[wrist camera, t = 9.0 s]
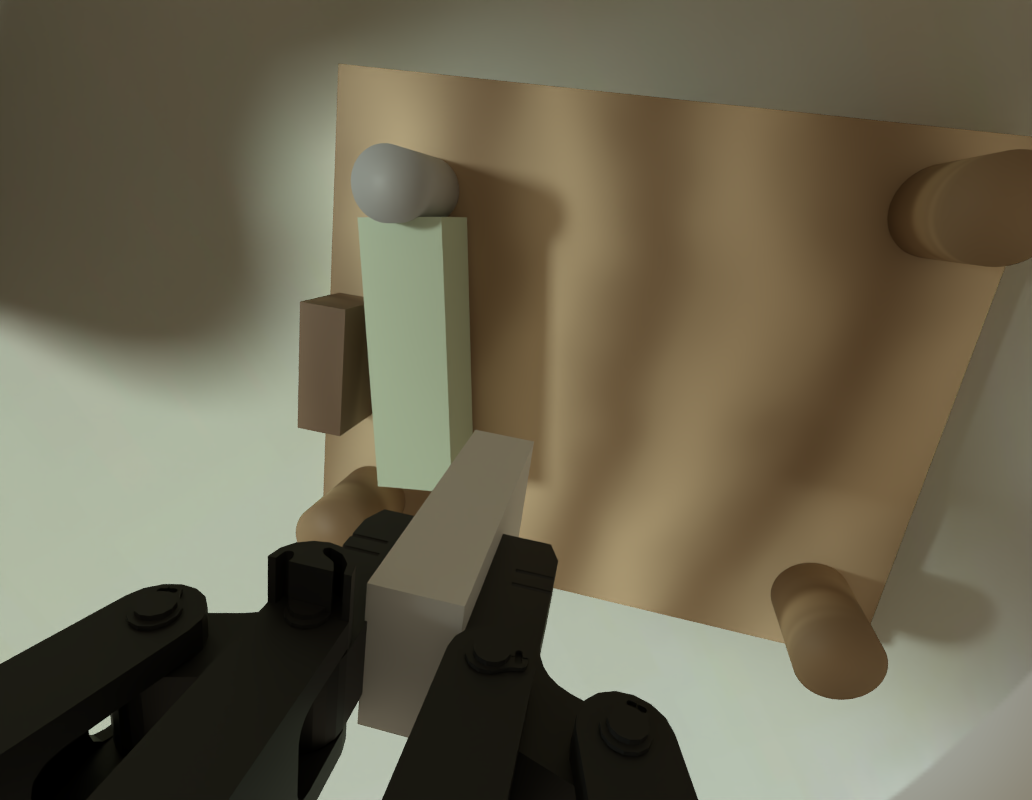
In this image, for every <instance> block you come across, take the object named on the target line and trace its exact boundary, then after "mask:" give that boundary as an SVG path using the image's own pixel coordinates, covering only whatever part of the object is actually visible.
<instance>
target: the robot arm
mask: <svg viewBox="0 0 1032 800" xmlns="http://www.w3.org/2000/svg"><path fill="white" fill-rule="evenodd" d="M533 445H534V441H529V440H524V439H519V438H514V437H509V436H504V435H499V434H494V433H489V432H484V431H479V430H475V431H474V433H473V434H472V435H471V437H470V438H469V440H468V441H467V442H466V444H465V445H464V447H463V448H462V449H461V451H460V452H459V454H458V455H457V457H456V458H455V459H454V461H453V462H452V464H451V465H450V466H449V468H448V469H447V471H446V472H445V474H444V475H443V476H442V478H441V479H440V481H439V482H438V483H437V485H436V486H435V488H434V489H433V491H432V492H431V493H430V495H429V496H428V498H427V499H426V500H425V502H424V503H423V505H422V506H421V508H420V509H419V510H418V512H417V513H416V515H415V516H413V515H408V514H404V513H399V512H395V511H390V510H386V509H384V510H382V511H380V512H378V513H376V514H374V515H372V516H370V517H368V518H366V519H365V520H364V521H363V522H362V523H361V524H360V525H359V526H358V528H357V529H356V530H355V531H354V532H353V535H352V536H350V537H349V538H348V539H347V540H346V542H345V543H344V544H343V547H341V546H339V545H336V544H333V543H331V542H322V541H306V542H296V543H293V544H290V545H287V546H284V547H281V548H279V549H278V550H276V551H275V552H273V553H272V554H270V555H269V556H268V602H267V604H266V605H265V606H264V607H263V608H262V609H261V610H260V611H259V612H253V613H208V607H207V602H206V597H205V596H204V595H203V594H202V593H201V592H200V591H198V590H197V589H196V588H192V587H189V586H185V585H182V584H162V585H157V586H152V587H147V588H143V589H141V590H138V591H136V592H133V593H131V594H128V595H126V596H124V597H122V598H120V599H119V600H117V601H115V602H113V603H111V604H109V605H108V606H106V607H104V608H102V609H100V610H98V611H97V612H95V613H93V614H91V615H89V616H87V617H86V618H84V619H82V620H80V621H78V622H76V623H75V624H73V625H71V626H69V627H67V628H65V629H64V630H62V631H60V632H58V633H56V634H54V635H53V636H51V637H49V638H47V639H45V640H43V641H42V642H40V643H38V644H36V645H34V646H32V647H31V648H29V649H27V650H25V651H23V652H21V653H20V654H18V655H16V656H14V657H12V658H10V659H9V660H7V661H5V662H3V663H1V664H0V800H317V799H318V797H319V795H320V793H321V791H322V789H323V787H324V785H325V784H326V782H327V780H328V778H329V776H330V774H331V772H332V770H333V768H334V767H335V765H336V763H337V761H338V759H339V757H340V755H341V753H342V750H343V746H344V743H345V739H346V722H347V720H348V719H349V717H350V715H351V713H352V711H353V710H354V708H355V706H356V704H357V702H358V701H359V710H358V724H360V725H364V726H368V727H371V728H375V729H379V730H382V731H386V732H390V733H393V734H397V735H401V736H404V737H408V740H407V742H406V744H405V747H404V749H403V752H402V754H401V756H400V759H399V761H398V763H397V766H396V768H395V770H394V773H393V775H392V777H391V780H390V782H389V784H388V787H387V789H386V791H385V794H384V796H383V798H382V800H698V798H697V795H696V792H695V790H694V787H693V784H692V781H691V778H690V775H689V773H688V770H687V767H686V764H685V761H684V758H683V756H682V753H681V750H680V747H679V744H678V741H677V739H676V736H675V733H674V732H673V730H672V728H671V726H670V725H669V723H668V721H667V719H666V718H665V717H664V716H663V715H662V714H661V713H660V712H659V711H658V710H657V709H656V708H654V707H653V706H652V705H651V704H649V703H648V702H646V701H644V700H642V699H640V698H638V697H636V696H634V695H631V694H626V693H621V692H617V691H612V692H602V693H597V694H595V695H594V696H592V697H590V698H588V699H586V700H585V701H583V700H581V699H579V698H577V697H575V696H574V695H572V694H570V693H569V692H567V691H566V690H564V689H563V688H561V687H560V686H558V685H557V684H556V683H555V681H554V680H553V679H552V678H551V677H550V676H549V675H548V673H547V672H546V670H545V668H544V667H543V664H542V661H541V657H540V653H541V648H542V643H543V638H544V633H545V629H546V624H547V618H548V613H549V608H550V603H551V597H552V592H553V587H554V581H555V576H556V571H557V565H558V559H557V557H556V554H555V552H554V550H553V548H552V545H551V544H547V543H543V542H538V541H533V540H529V539H524V538H520V537H519V532H520V526H521V520H522V513H523V507H524V501H525V495H526V488H527V482H528V476H529V470H530V464H531V457H532V451H533ZM109 715H111V725H110V726H109V727H107V728H106V729H104V730H102V731H100V732H98V733H96V734H94V735H89V731H88V730H90V729H91V728H92V727H94V726H95V725H97V724H98V723H99V722H101V721H102V720H104V719H105V718H106V717H108V716H109Z"/></svg>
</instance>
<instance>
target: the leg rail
mask: <svg viewBox="0 0 1032 800" xmlns="http://www.w3.org/2000/svg"><path fill="white" fill-rule="evenodd" d="M351 189H352V193H353V196H354V199H355V201H356V203H357V205H358V206H359V208H360V209H361V210H362V211H363V213H365V214H366V215H367V216H368V217H357V218H358V231H359V244H360V257H361V270H362V283H363V296H364V310H365V323H366V336H367V349H368V362H369V375H370V388H371V401H372V415H373V428H374V441H375V454H376V467H377V480H378V486H381V487H392V488H403V489H415V490H426V491H433V489H434V488H435V486H436V485H437V483H438V482H439V481H440V479H441V478H442V476H443V475H444V474H445V472H446V471H447V469H448V468H449V466H450V465H451V464H452V462H453V461H454V459H455V458H456V457H457V455H458V454H459V452H460V451H461V449H462V448H463V447H464V445H465V444H466V442H467V441H468V440H469V438H470V437H471V435H472V434H473V426H472V388H471V351H470V313H469V276H468V238H467V217H448V216H449V215H450V214H451V213H452V211H453V210H454V208H455V207H456V204H457V202H458V198H459V183H458V179H457V176H456V174H455V172H454V171H453V169H452V168H451V167H450V166H449V165H448V164H447V163H446V162H445V161H443V160H441V159H439V158H437V157H434V156H430V155H427V154H424V153H420V152H417V151H414V150H410V149H407V148H404V147H400V146H397V145H394V144H389V143H380V144H375V145H373V146H370V147H369V148H367V149H365V150H364V151H363V152H362V153H361V154H360V155H359V157H358V158H357V160H356V161H355V163H354V166H353V169H352V173H351Z"/></svg>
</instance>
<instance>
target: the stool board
mask: <svg viewBox="0 0 1032 800" xmlns="http://www.w3.org/2000/svg"><path fill="white" fill-rule="evenodd" d="M380 143H389V144H394V145H397V146H400V147H404V148H407V149H410V150H414V151H417V152H420V153H424V154H427V155H430V156H434V157H437V158H439V159H441V160H443V161H445V162H446V163H447V164H448V165H449V166H450V167H451V168H452V169H453V171H454V172H455V174H456V176H457V179H458V183H459V198H458V202H457V204H456V207H455V208H454V210H453V211H452V213H451V214H450V215H449V216H448V217H467V238H468V276H469V313H470V351H471V388H472V426H473V433H474V431H475V430H479V431H484V432H489V433H494V434H499V435H504V436H509V437H514V438H519V439H524V440H529V441H534V445H533V451H532V457H531V464H530V470H529V476H528V482H527V488H526V495H525V501H524V507H523V513H522V520H521V526H520V532H519V537H520V538H524V539H529V540H533V541H538V542H543V543H547V544H551V545H552V548H553V550H554V552H555V554H556V557H557V559H558V565H557V571H556V576H555V581H554V587H553V588H556V589H560V590H564V591H568V592H573V593H577V594H581V595H585V596H589V597H593V598H598V599H602V600H606V601H610V602H614V603H618V604H622V605H627V606H631V607H635V608H639V609H643V610H647V611H652V612H656V613H660V614H664V615H668V616H672V617H677V618H681V619H685V620H689V621H693V622H697V623H701V624H706V625H710V626H714V627H718V628H722V629H726V630H731V631H735V632H739V633H743V634H747V635H751V636H756V637H760V638H764V639H768V640H772V641H776V642H780V643H785V645H786V648H787V651H788V654H789V657H790V660H791V663H792V666H793V670H794V672H795V675H796V676H797V678H798V680H799V681H800V682H801V683H802V684H803V685H804V686H805V687H806V688H807V689H809V690H810V691H812V692H813V693H815V694H818V695H820V696H823V697H826V698H831V699H839V700H844V699H853V698H857V697H860V696H863V695H866V694H868V693H869V692H871V691H873V690H874V689H875V688H877V687H878V686H879V685H880V684H881V682H882V681H883V679H884V677H885V675H886V673H887V669H888V659H887V655H886V652H885V650H884V648H883V646H882V644H881V643H880V641H879V639H878V637H877V635H876V634H875V632H874V630H873V628H872V626H871V621H872V618H873V616H874V613H875V610H876V608H877V605H878V603H879V600H880V597H881V595H882V592H883V589H884V587H885V584H886V581H887V579H888V576H889V573H890V571H891V568H892V565H893V563H894V560H895V558H896V555H897V552H898V550H899V547H900V544H901V542H902V539H903V536H904V534H905V531H906V528H907V526H908V523H909V520H910V518H911V515H912V513H913V510H914V507H915V505H916V502H917V499H918V497H919V494H920V491H921V489H922V486H923V483H924V481H925V478H926V475H927V473H928V470H929V468H930V465H931V462H932V460H933V457H934V454H935V452H936V449H937V446H938V444H939V441H940V438H941V436H942V433H943V430H944V428H945V425H946V423H947V420H948V417H949V415H950V412H951V409H952V407H953V404H954V401H955V399H956V396H957V393H958V391H959V388H960V385H961V383H962V380H963V378H964V375H965V372H966V370H967V367H968V364H969V362H970V359H971V356H972V354H973V351H974V348H975V346H976V343H977V340H978V338H979V335H980V333H981V330H982V327H983V325H984V322H985V319H986V317H987V314H988V311H989V309H990V306H991V303H992V301H993V298H994V295H995V293H996V290H997V288H998V285H999V282H1000V280H1001V277H1002V274H1003V272H1004V269H1005V266H1009V265H1013V264H1017V263H1020V262H1023V261H1025V260H1027V259H1029V258H1031V257H1032V137H1030V136H1021V135H1011V134H1002V133H992V132H983V131H973V130H964V129H954V128H945V127H935V126H926V125H916V124H907V123H897V122H888V121H878V120H869V119H859V118H849V117H840V116H830V115H821V114H811V113H802V112H792V111H783V110H773V109H764V108H754V107H745V106H735V105H726V104H716V103H707V102H697V101H688V100H678V99H669V98H659V97H650V96H640V95H631V94H621V93H612V92H602V91H593V90H583V89H574V88H564V87H555V86H545V85H536V84H526V83H517V82H507V81H498V80H488V79H479V78H469V77H460V76H450V75H441V74H431V73H422V72H412V71H403V70H393V69H384V68H374V67H365V66H355V65H346V64H338V92H337V121H336V149H335V178H334V207H333V236H332V265H331V293H330V295H327V296H323V297H318V298H314V299H310V300H305V301H301V302H300V338H299V390H298V428H303V429H307V430H312V431H317V432H322V433H326V437H325V466H324V495H323V497H322V498H321V499H320V500H319V501H317V502H316V503H315V504H314V505H313V506H311V507H310V508H309V509H308V510H307V511H306V512H304V513H303V514H302V516H301V517H300V519H299V521H298V523H297V527H296V538H297V542H306V541H322V542H331V543H333V544H336V545H339V546H341V547H343V544H344V543H345V542H346V540H347V539H348V538H349V537H350V536H352V535H353V532H354V531H355V530H356V529H357V528H358V526H359V525H360V524H361V523H362V522H363V521H364V520H365V519H366V518H368V517H370V516H372V515H374V514H376V513H378V512H380V511H382V510H384V509H386V510H390V511H395V512H399V513H404V514H408V515H413V516H415V515H416V513H417V512H418V510H419V509H420V508H421V506H422V505H423V503H424V502H425V500H426V499H427V498H428V496H429V495H430V493H431V492H432V491H426V490H415V489H403V488H392V487H381V486H378V480H377V467H376V454H375V441H374V428H373V415H372V401H371V388H370V375H369V362H368V349H367V336H366V323H365V310H364V296H363V283H362V270H361V257H360V244H359V231H358V218H357V217H368V216H367V215H366V214H365V213H363V211H362V210H361V209H360V208H359V206H358V205H357V203H356V201H355V199H354V196H353V193H352V189H351V173H352V169H353V166H354V163H355V161H356V160H357V158H358V157H359V155H360V154H361V153H362V152H363V151H364V150H365V149H367V148H369V147H370V146H373V145H375V144H380Z"/></svg>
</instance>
